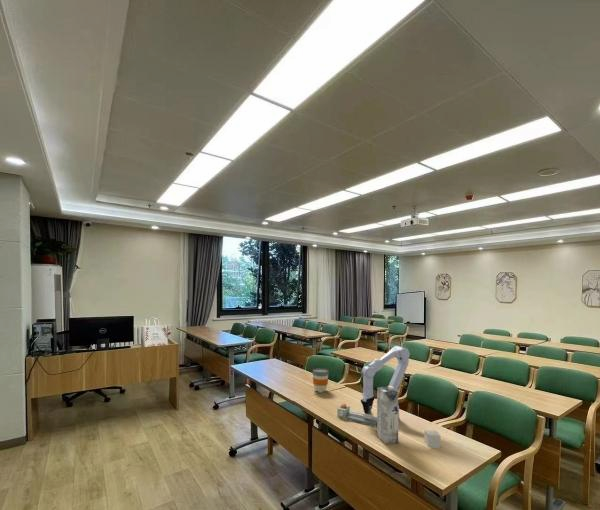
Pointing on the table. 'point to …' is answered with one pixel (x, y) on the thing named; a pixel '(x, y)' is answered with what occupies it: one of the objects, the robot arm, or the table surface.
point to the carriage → (368, 414)
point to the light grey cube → (432, 439)
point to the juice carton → (387, 414)
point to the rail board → (361, 419)
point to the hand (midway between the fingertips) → (367, 410)
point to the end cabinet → (343, 411)
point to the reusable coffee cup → (320, 379)
